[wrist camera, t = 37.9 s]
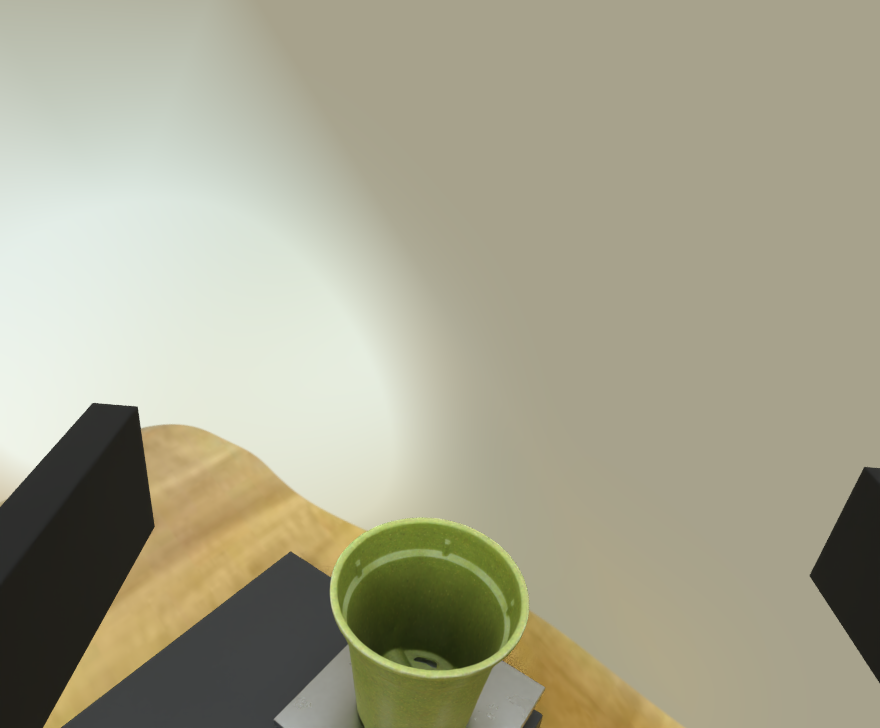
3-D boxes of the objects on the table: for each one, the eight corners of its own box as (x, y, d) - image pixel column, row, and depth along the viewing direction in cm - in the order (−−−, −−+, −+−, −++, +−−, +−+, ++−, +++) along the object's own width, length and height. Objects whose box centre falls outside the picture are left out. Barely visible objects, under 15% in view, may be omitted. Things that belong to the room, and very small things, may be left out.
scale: (539, 727, 38) (548, 694, 36) (343, 1066, 25) (345, 1036, 24) (290, 563, 47) (290, 531, 46) (52, 750, 34) (41, 714, 33)
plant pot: (514, 652, 38) (539, 541, 34) (486, 821, 30) (515, 702, 26) (361, 611, 40) (368, 500, 36) (296, 762, 32) (295, 640, 27)
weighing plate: (544, 691, 37) (545, 687, 36) (440, 863, 29) (441, 858, 29) (396, 598, 41) (397, 594, 41) (273, 723, 33) (273, 719, 33)
